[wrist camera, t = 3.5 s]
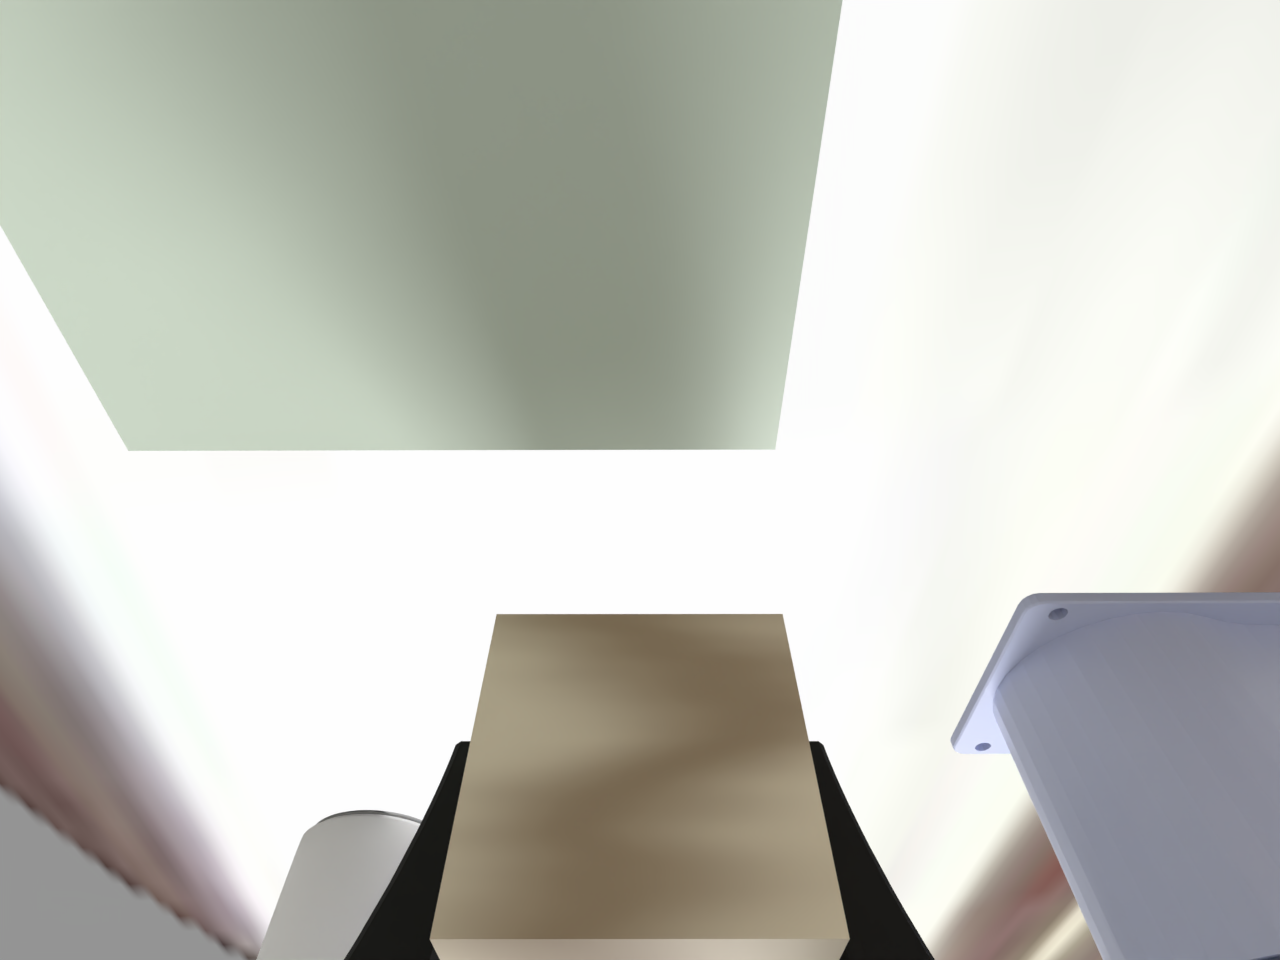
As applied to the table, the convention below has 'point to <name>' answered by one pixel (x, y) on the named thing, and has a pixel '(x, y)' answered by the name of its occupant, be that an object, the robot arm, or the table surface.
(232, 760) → the table surface
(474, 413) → the base
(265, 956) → the can
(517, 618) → the block
